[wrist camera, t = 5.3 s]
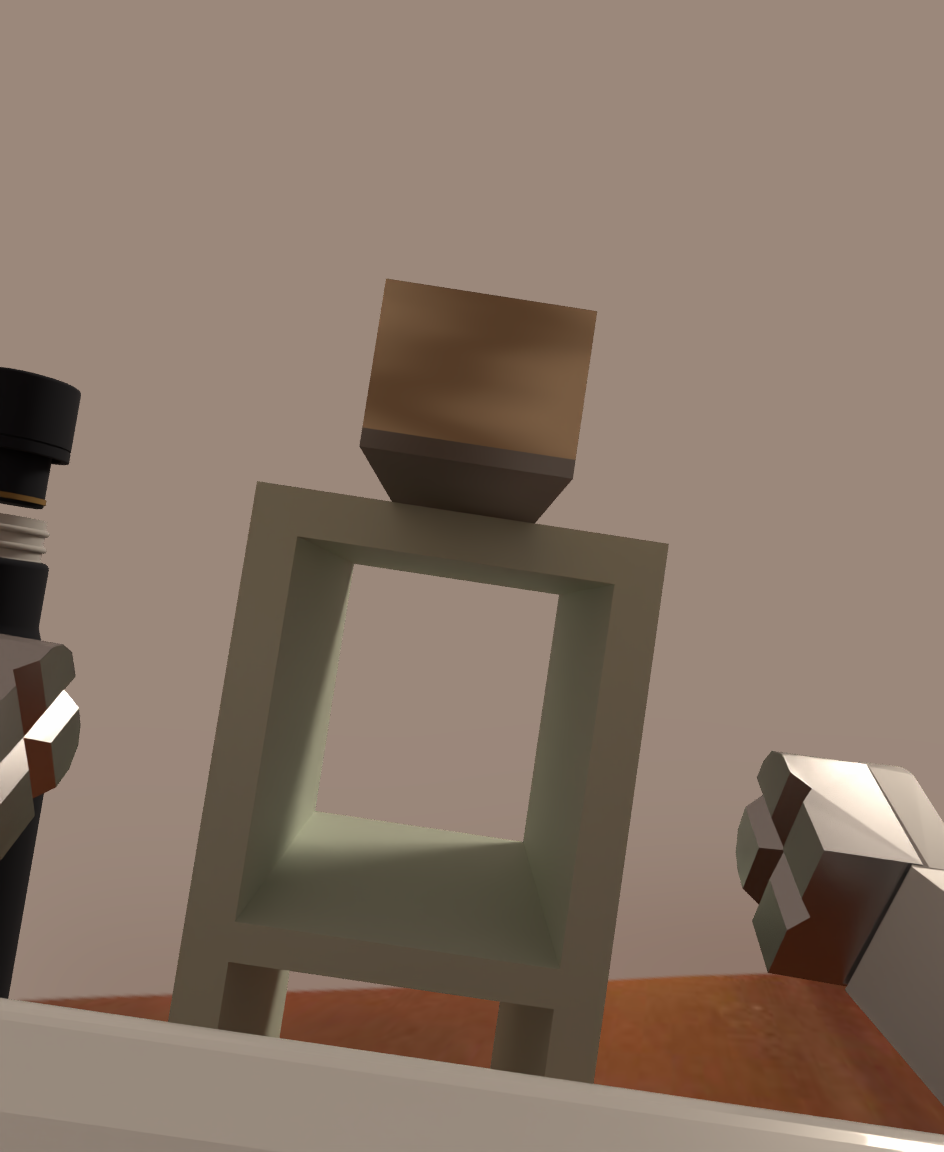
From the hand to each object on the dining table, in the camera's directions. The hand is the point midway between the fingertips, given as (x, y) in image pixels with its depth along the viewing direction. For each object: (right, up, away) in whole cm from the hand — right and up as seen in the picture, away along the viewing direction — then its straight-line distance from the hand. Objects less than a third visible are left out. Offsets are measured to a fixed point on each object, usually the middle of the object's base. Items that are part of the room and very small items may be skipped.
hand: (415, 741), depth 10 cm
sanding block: (0, +4, +17) cm, 17 cm away
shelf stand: (-4, -22, +22) cm, 31 cm away
